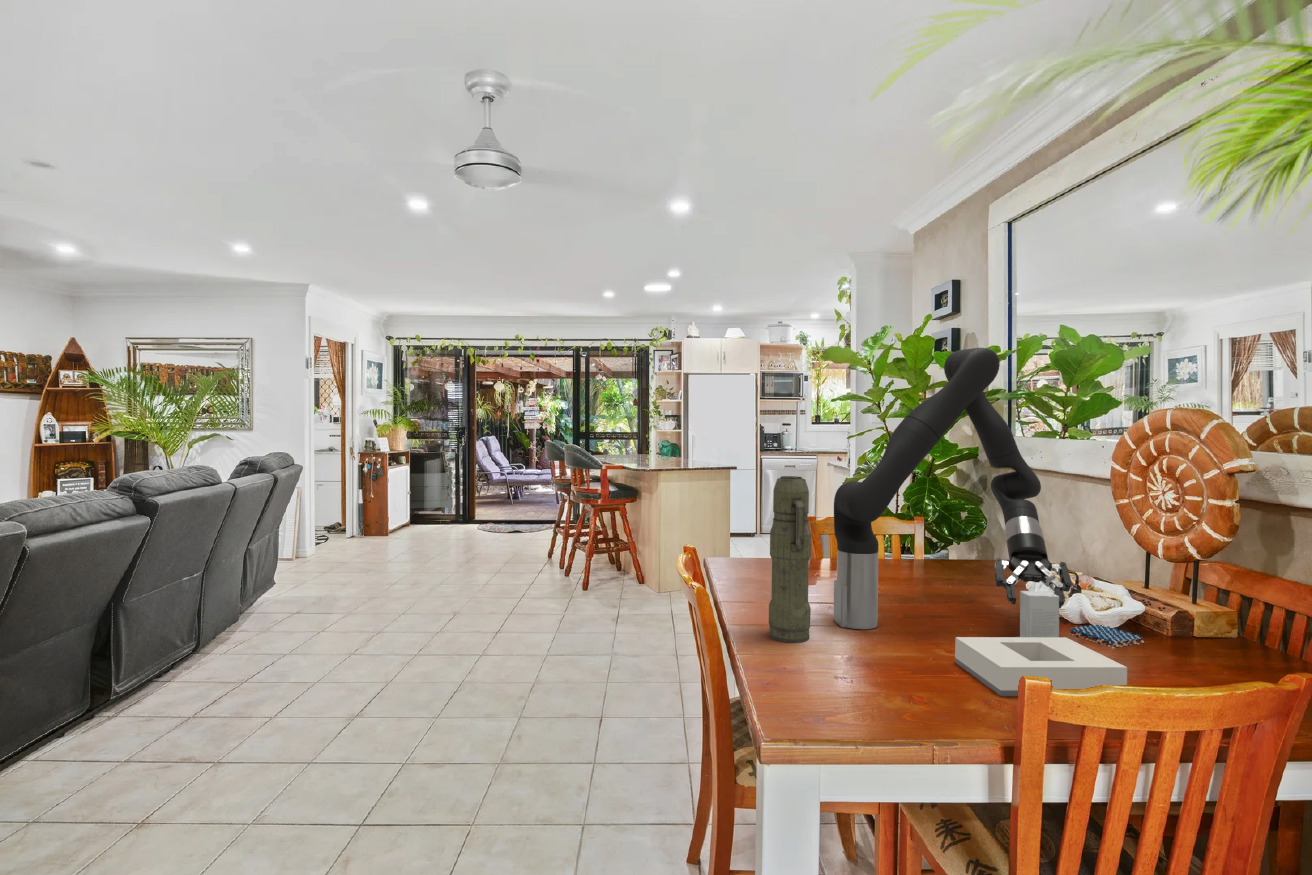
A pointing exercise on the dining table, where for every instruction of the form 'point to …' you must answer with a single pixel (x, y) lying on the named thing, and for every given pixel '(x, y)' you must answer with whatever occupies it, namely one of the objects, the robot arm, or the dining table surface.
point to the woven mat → (1106, 636)
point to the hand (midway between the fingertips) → (1036, 604)
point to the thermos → (790, 561)
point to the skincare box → (1039, 614)
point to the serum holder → (1035, 663)
